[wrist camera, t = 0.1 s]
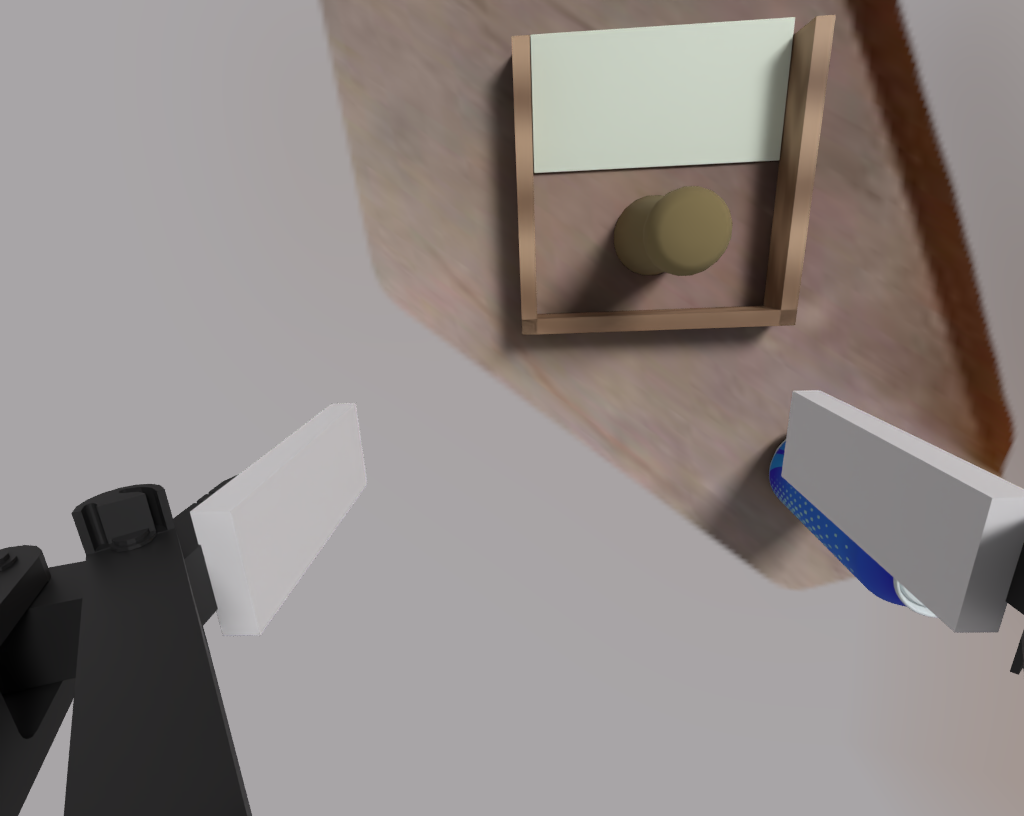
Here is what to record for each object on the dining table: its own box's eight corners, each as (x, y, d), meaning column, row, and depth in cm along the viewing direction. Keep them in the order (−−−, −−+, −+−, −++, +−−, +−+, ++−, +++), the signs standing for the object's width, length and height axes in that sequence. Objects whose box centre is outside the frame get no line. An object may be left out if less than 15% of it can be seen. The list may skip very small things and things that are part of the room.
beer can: (877, 464, 44) (1057, 577, 29) (797, 520, 46) (927, 653, 31) (824, 399, 43) (985, 482, 28) (743, 460, 45) (852, 569, 30)
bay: (513, 53, 36) (511, 36, 33) (810, 34, 35) (835, 15, 32) (522, 329, 42) (522, 335, 39) (776, 319, 41) (795, 325, 38)
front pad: (530, 35, 35) (530, 34, 35) (793, 18, 35) (795, 17, 34) (534, 173, 38) (534, 172, 38) (778, 160, 37) (779, 160, 37)
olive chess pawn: (607, 270, 40) (633, 277, 30) (621, 190, 38) (654, 167, 28) (680, 280, 40) (733, 290, 30) (698, 200, 38) (761, 181, 28)
